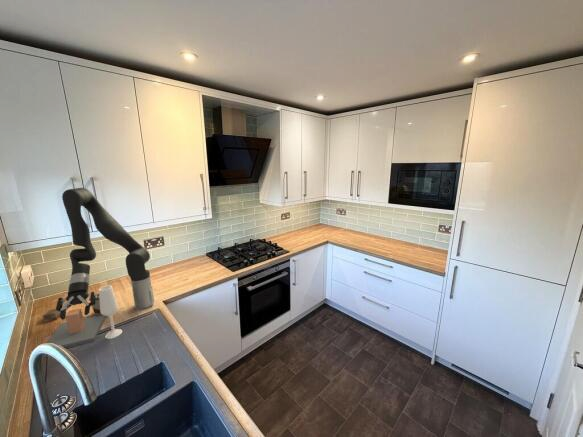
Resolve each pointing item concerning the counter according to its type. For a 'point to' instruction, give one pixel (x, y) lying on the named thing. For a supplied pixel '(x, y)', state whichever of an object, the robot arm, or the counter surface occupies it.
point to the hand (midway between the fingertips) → (74, 316)
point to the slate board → (81, 337)
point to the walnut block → (51, 315)
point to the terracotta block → (75, 321)
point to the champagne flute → (109, 308)
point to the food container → (96, 305)
